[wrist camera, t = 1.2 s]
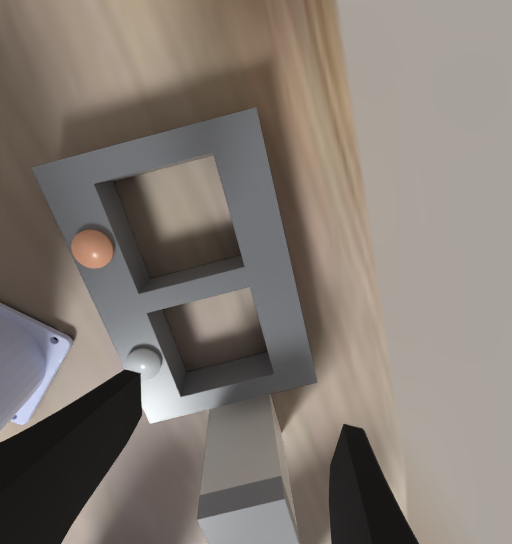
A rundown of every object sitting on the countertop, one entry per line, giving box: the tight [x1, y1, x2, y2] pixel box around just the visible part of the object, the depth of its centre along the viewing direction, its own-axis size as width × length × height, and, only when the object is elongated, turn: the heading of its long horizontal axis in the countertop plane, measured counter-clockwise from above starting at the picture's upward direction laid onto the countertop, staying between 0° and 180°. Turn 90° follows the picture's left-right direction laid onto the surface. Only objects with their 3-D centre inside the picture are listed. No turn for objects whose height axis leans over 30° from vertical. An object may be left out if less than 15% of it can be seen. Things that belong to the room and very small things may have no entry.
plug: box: [197, 394, 300, 544], centre depth 20 cm, size 4×4×8 cm
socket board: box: [31, 107, 317, 424], centre depth 18 cm, size 16×11×3 cm
